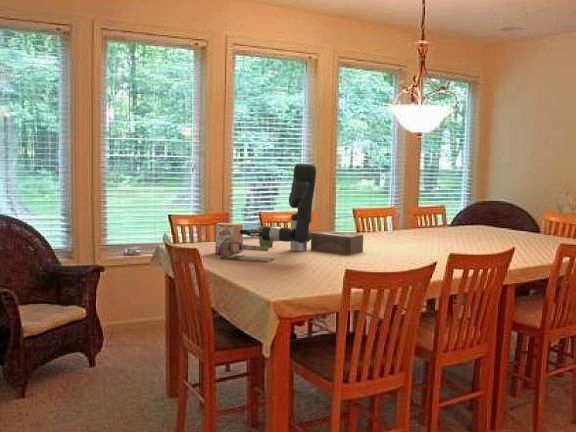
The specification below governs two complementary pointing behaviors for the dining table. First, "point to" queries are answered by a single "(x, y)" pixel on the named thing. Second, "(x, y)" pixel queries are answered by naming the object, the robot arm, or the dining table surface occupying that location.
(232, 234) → the candy bar box
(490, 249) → the dining table surface
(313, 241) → the tissue box cover
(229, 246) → the pipe stand
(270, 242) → the plant pot
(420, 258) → the dining table surface
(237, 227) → the tan wooden block
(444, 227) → the dining table surface
